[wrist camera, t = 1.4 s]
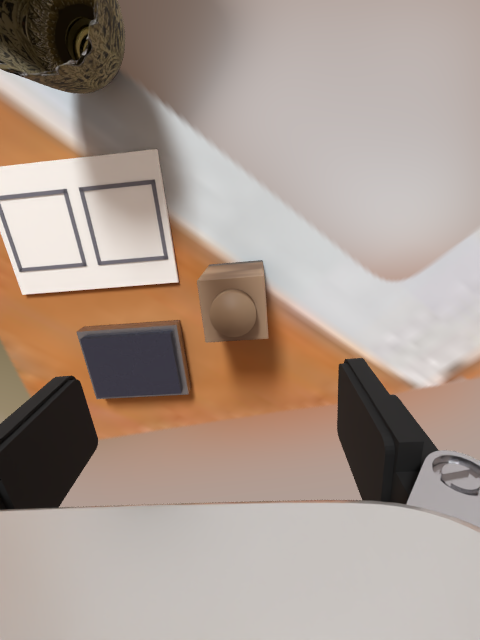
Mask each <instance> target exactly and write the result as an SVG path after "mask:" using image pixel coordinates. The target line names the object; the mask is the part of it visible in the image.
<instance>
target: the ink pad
mask: <svg viewBox="0 0 480 640" xmlns="http://www.w3.org/2000/svg"><path fill="white" fill-rule="evenodd" d="M77 335H78V338H79V342H80V345H81V348H82V352H83V355H84V358H85V362H86V365H87V368H88V372H89V375H90V379H91V382H92V385H93V389H94V392H95V395H96V399H107V398H126V397H146V396H165V395H184V394H189V392H190V389H191V383H190V377H189V371H188V365H187V360H186V354H185V348H184V342H183V336H182V330H181V324H180V320H174V321H160V322H146V323H132V324H117V325H103V326H89V327H83V328H81V329H80V330H79V331H77Z"/></svg>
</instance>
